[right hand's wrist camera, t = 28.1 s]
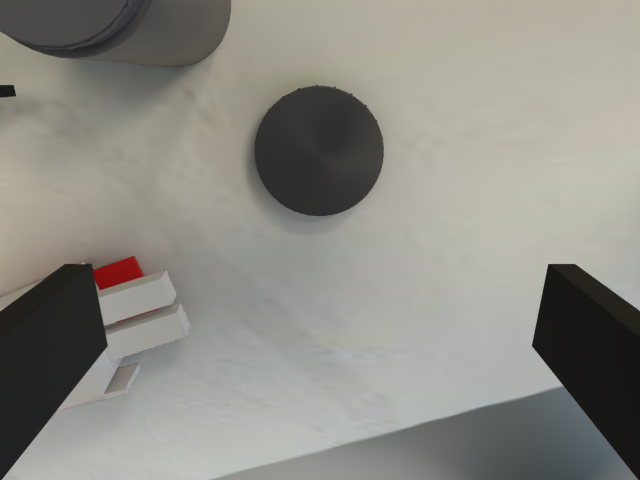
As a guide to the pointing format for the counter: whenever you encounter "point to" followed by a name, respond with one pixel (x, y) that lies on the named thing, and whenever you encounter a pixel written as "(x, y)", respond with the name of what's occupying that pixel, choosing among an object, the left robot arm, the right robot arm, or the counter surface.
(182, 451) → the counter surface
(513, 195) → the counter surface
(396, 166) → the counter surface
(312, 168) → the lid
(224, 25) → the jar
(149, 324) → the toy
